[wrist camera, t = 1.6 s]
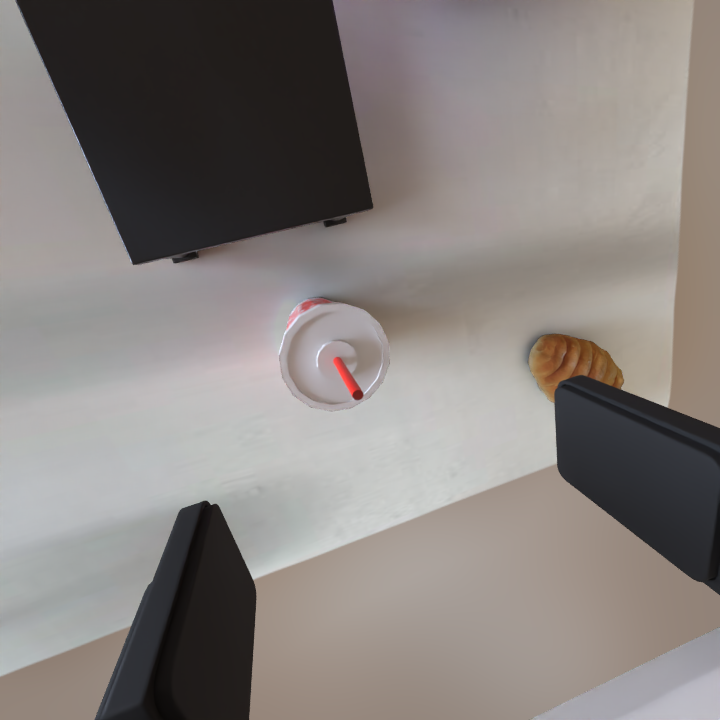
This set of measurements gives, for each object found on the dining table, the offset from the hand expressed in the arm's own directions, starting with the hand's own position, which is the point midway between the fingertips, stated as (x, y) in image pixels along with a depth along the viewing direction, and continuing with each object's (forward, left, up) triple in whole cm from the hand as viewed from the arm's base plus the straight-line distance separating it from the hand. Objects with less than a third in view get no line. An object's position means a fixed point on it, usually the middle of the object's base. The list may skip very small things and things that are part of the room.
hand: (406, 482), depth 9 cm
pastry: (+11, +22, -20) cm, 31 cm away
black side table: (-14, -2, -20) cm, 24 cm away
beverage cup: (0, 0, -20) cm, 20 cm away
